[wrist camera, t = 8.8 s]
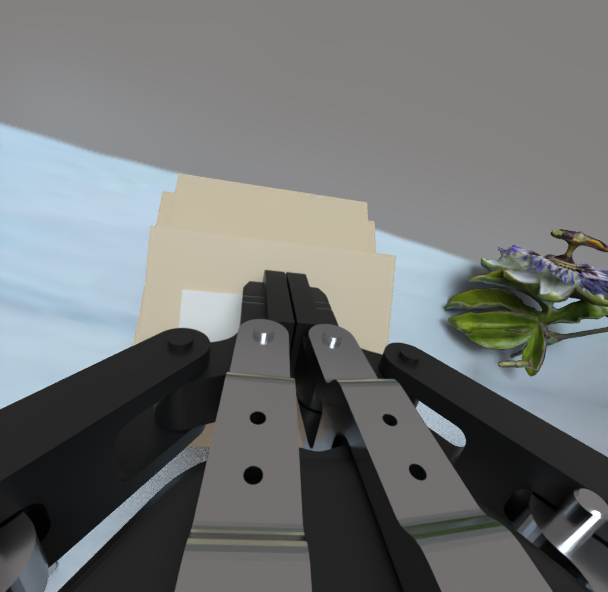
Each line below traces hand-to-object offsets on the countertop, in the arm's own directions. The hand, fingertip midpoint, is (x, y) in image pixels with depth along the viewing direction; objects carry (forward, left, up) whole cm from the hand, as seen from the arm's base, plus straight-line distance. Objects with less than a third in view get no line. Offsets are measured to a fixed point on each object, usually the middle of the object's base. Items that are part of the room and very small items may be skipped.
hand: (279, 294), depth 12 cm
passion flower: (-23, -4, -13) cm, 27 cm away
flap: (0, +1, -2) cm, 2 cm away
